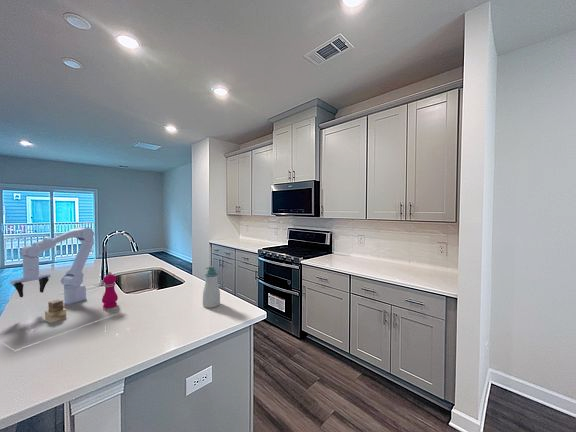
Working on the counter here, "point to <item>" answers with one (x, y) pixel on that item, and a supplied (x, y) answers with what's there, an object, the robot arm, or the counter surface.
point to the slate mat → (53, 321)
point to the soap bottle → (211, 289)
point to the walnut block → (55, 305)
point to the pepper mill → (109, 291)
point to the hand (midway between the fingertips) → (31, 294)
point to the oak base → (55, 315)
